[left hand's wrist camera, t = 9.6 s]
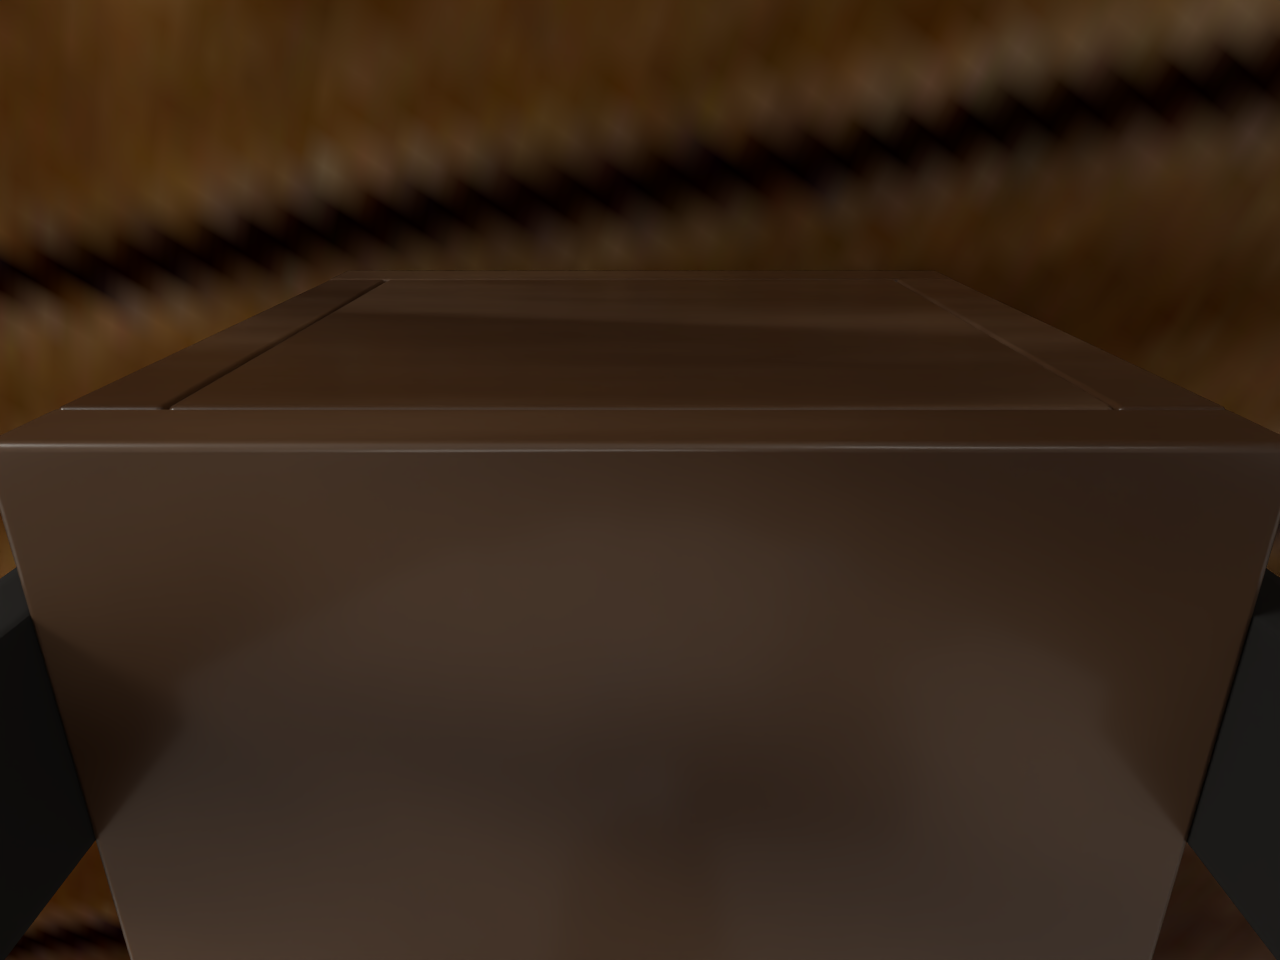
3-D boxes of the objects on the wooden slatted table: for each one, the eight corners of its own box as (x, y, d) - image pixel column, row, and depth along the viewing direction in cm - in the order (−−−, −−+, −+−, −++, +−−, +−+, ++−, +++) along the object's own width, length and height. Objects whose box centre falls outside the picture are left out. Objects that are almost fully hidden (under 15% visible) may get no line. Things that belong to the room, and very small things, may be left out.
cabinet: (845, 1020, 25) (974, 1581, 15) (437, 1020, 25) (307, 1578, 15) (936, 270, 17) (1307, 442, 8) (347, 269, 17) (-25, 442, 8)
